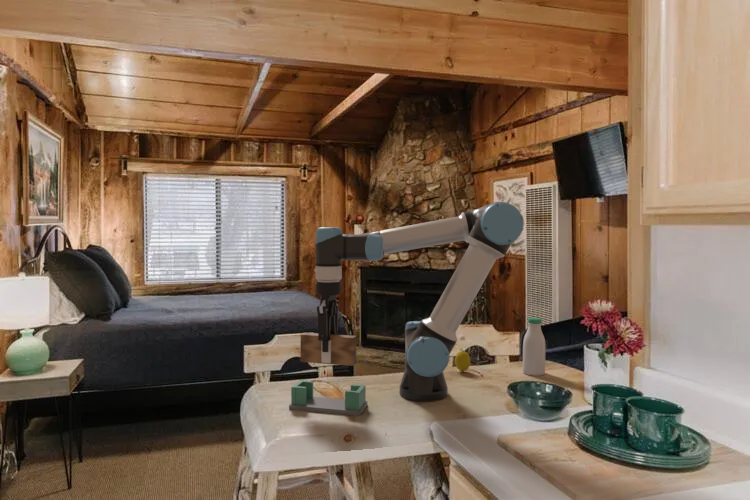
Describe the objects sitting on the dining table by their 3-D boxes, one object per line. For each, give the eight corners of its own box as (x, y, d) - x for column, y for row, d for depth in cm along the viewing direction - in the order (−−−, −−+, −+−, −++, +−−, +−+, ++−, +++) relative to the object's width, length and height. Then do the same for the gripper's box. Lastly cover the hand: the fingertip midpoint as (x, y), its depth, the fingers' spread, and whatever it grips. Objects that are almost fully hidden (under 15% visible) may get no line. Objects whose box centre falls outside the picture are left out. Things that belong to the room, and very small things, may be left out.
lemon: (451, 372, 191) (452, 350, 191) (460, 369, 195) (460, 347, 195) (464, 375, 188) (465, 352, 187) (473, 372, 192) (473, 350, 191)
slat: (356, 363, 153) (356, 335, 153) (353, 365, 150) (353, 338, 150) (304, 359, 157) (304, 332, 157) (300, 361, 154) (300, 334, 154)
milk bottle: (547, 376, 186) (548, 320, 185) (525, 376, 186) (526, 320, 186) (541, 370, 194) (542, 316, 193) (520, 370, 194) (521, 316, 193)
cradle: (367, 405, 156) (367, 384, 156) (359, 415, 147) (359, 393, 147) (300, 399, 161) (300, 379, 161) (289, 409, 152) (289, 388, 152)
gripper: (325, 277, 161) (325, 353, 162) (306, 283, 146) (306, 367, 147) (349, 278, 159) (348, 355, 160) (332, 284, 144) (331, 369, 145)
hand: (328, 360), depth 154 cm, fingers closed on slat, 3 cm apart
